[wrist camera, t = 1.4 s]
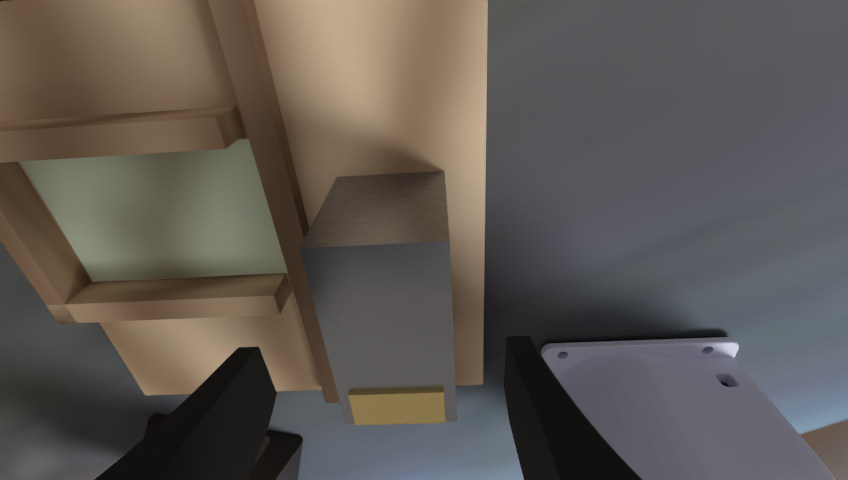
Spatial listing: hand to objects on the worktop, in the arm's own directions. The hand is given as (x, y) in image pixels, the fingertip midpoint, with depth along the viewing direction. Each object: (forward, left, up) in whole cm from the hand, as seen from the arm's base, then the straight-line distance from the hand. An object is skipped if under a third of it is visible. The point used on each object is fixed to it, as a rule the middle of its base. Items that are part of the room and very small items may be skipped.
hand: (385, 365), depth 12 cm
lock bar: (0, 0, -6) cm, 6 cm away
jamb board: (+5, -1, -7) cm, 9 cm away
